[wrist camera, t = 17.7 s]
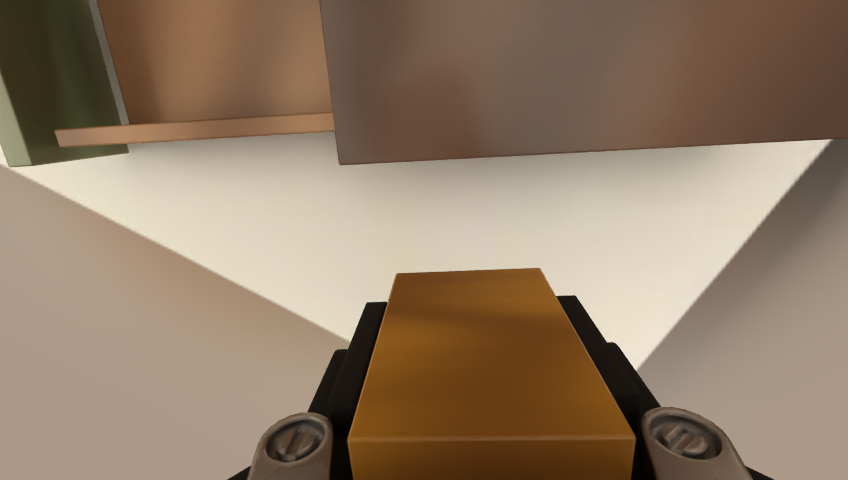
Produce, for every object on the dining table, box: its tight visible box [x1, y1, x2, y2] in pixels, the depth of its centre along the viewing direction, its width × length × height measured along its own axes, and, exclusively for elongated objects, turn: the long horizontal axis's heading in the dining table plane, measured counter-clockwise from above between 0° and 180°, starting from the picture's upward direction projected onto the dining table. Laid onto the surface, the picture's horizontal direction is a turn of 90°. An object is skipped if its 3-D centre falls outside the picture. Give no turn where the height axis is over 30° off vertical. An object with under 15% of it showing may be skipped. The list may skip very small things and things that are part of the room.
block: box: [347, 268, 636, 480], centre depth 9 cm, size 4×4×6 cm
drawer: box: [0, 0, 335, 167], centre depth 19 cm, size 24×13×6 cm, turn 93°
